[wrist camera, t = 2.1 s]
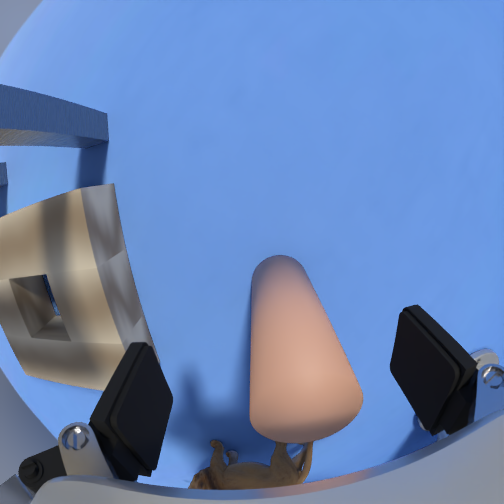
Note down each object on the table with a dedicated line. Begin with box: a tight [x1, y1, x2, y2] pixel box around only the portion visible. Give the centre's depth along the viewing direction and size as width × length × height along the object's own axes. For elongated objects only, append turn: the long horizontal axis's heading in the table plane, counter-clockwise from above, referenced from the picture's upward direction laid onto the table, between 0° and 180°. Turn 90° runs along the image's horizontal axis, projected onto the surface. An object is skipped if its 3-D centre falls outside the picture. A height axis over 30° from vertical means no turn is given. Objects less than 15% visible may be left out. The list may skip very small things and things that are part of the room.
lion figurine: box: [188, 440, 313, 490], centre depth 19 cm, size 15×5×9 cm, turn 120°
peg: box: [250, 255, 363, 443], centre depth 12 cm, size 4×4×11 cm
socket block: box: [0, 183, 160, 391], centre depth 16 cm, size 14×14×4 cm
